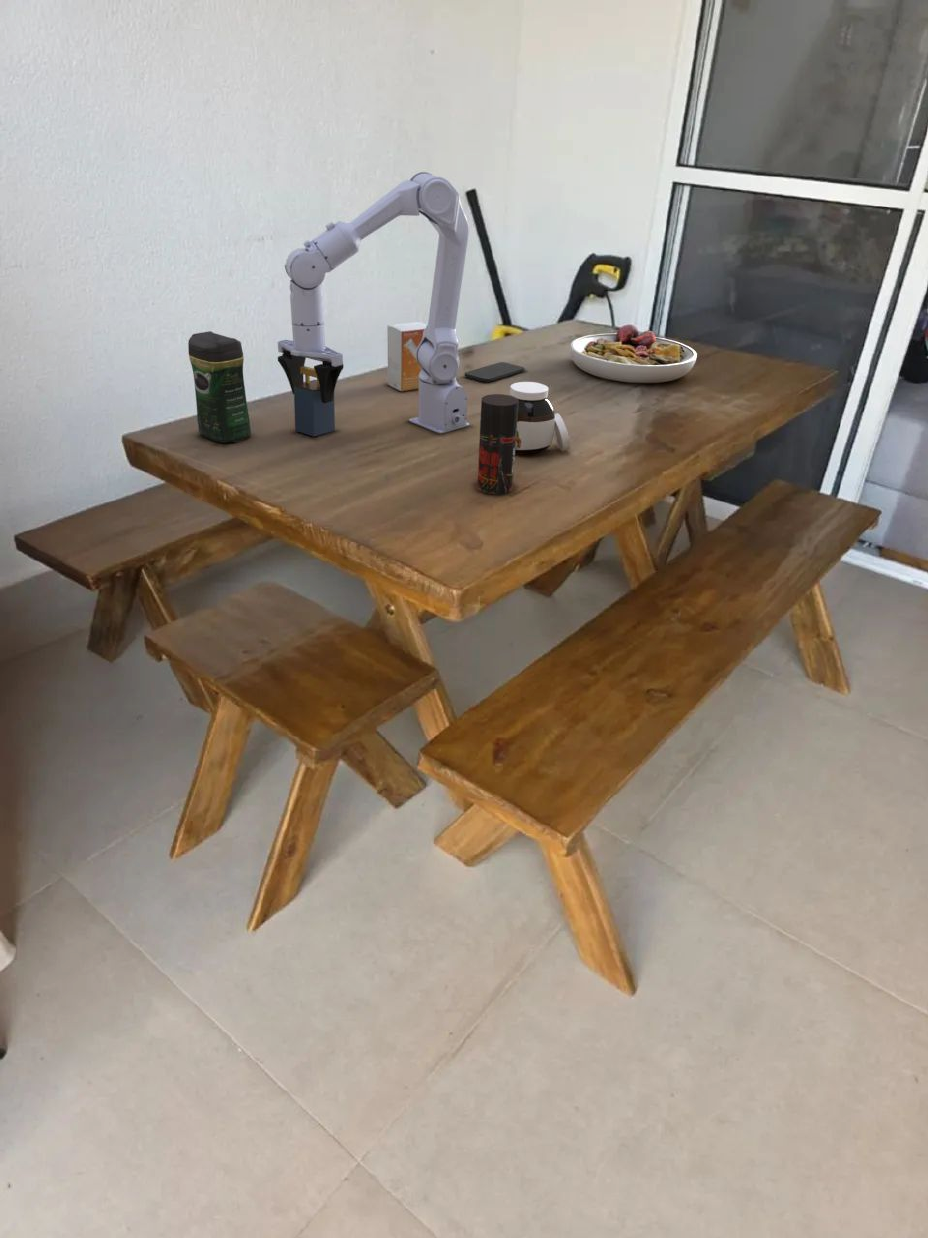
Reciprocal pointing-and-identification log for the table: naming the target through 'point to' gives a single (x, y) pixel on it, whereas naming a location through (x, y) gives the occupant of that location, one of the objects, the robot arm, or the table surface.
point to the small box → (404, 355)
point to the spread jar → (537, 420)
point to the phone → (494, 372)
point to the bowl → (632, 356)
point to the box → (312, 407)
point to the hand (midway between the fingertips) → (312, 397)
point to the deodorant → (497, 443)
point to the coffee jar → (219, 387)
